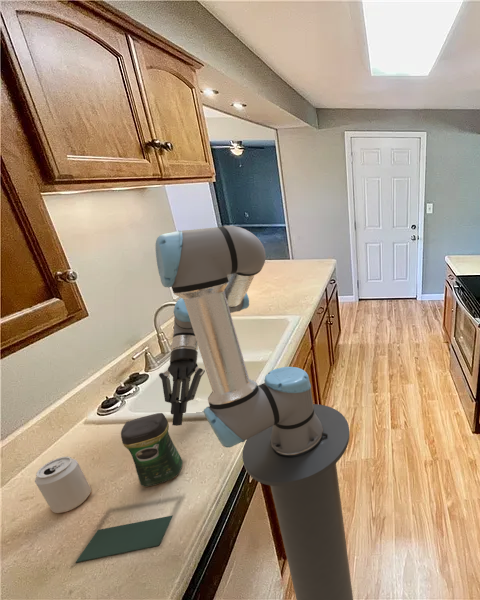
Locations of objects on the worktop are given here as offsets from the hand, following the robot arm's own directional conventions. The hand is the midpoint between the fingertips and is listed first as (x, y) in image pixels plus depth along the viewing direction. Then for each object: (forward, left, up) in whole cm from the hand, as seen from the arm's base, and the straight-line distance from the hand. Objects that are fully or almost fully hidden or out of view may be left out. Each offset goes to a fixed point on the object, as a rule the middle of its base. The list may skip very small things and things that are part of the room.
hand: (177, 425), depth 101 cm
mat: (0, +28, -6) cm, 29 cm away
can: (+19, +17, -6) cm, 26 cm away
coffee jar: (0, +13, -6) cm, 14 cm away
